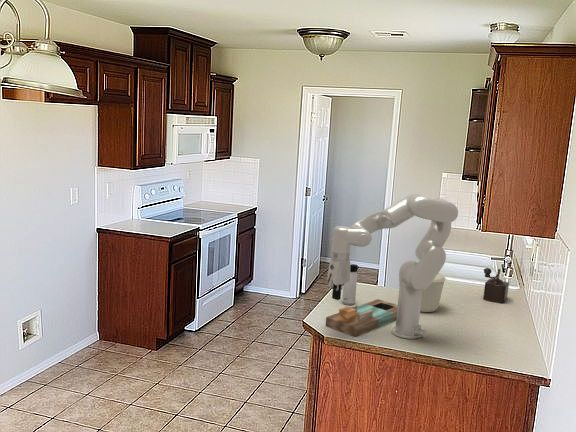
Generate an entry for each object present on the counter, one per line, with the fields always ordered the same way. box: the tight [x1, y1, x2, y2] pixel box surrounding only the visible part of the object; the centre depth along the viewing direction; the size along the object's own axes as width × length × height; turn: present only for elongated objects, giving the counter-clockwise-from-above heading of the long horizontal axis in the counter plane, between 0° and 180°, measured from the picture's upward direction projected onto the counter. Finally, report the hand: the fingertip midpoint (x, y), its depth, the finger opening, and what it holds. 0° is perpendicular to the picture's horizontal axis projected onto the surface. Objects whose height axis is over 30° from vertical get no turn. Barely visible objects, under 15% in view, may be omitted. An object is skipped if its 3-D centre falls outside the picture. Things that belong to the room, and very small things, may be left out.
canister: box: [420, 272, 447, 313], centre depth 275 cm, size 18×18×21 cm
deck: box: [325, 298, 398, 338], centre depth 256 cm, size 16×40×7 cm, turn 137°
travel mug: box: [341, 263, 359, 306], centre depth 278 cm, size 6×7×20 cm
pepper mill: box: [482, 267, 510, 305], centre depth 295 cm, size 16×11×18 cm
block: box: [338, 305, 356, 323], centre depth 244 cm, size 5×5×5 cm
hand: (336, 298), depth 237 cm, fingers closed
